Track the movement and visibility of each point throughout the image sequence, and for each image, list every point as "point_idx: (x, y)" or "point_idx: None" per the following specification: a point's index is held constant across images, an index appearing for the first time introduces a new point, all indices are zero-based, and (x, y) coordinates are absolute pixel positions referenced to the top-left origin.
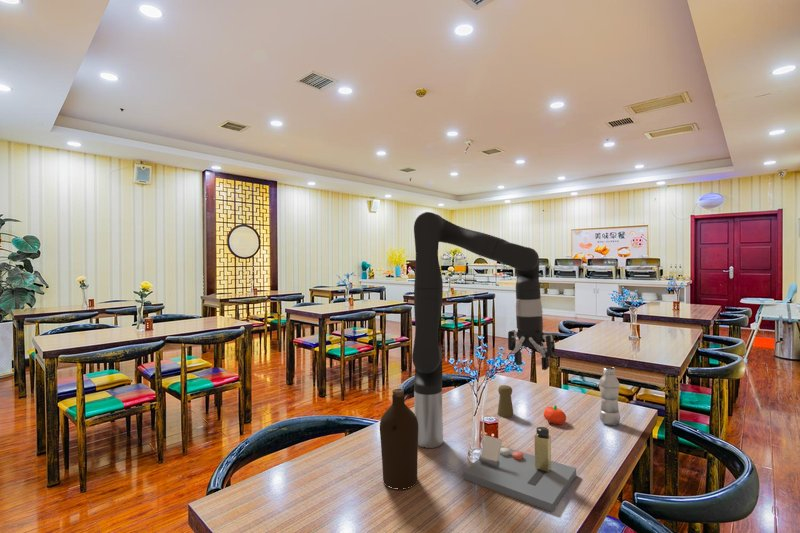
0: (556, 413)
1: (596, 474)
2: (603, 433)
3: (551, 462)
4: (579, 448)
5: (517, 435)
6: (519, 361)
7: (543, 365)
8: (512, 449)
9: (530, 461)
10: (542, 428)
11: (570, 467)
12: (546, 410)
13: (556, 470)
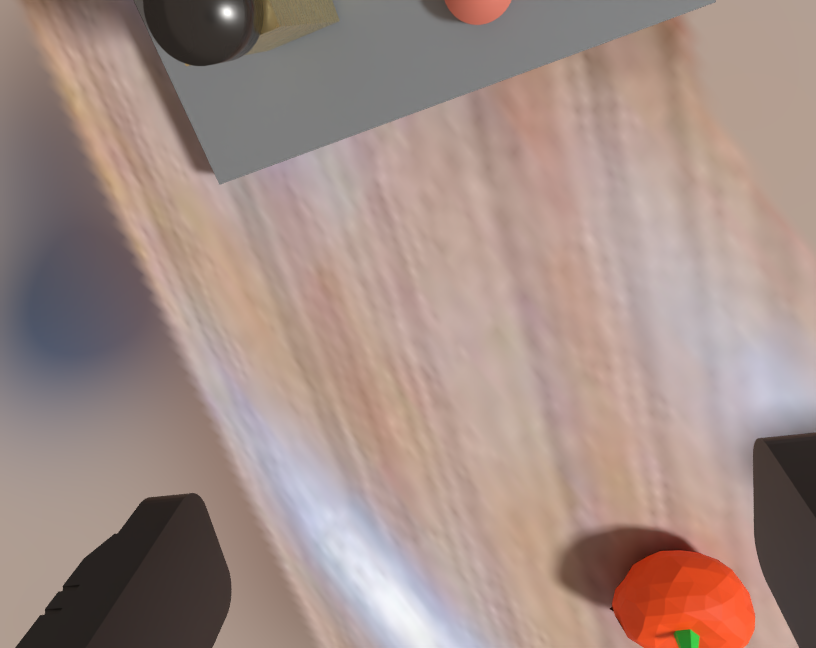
0: (653, 604)
1: (196, 263)
2: (434, 618)
3: (326, 123)
4: (403, 419)
5: (729, 293)
6: (784, 532)
7: (113, 548)
8: (580, 49)
9: (401, 21)
10: (205, 23)
11: (237, 164)
12: (726, 603)
13: (251, 70)
